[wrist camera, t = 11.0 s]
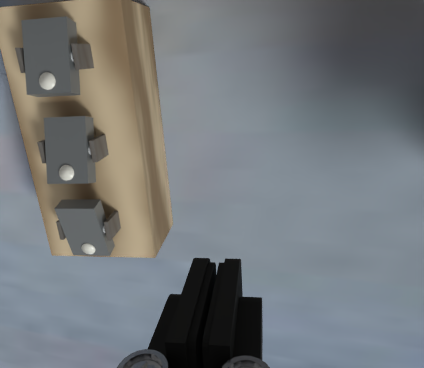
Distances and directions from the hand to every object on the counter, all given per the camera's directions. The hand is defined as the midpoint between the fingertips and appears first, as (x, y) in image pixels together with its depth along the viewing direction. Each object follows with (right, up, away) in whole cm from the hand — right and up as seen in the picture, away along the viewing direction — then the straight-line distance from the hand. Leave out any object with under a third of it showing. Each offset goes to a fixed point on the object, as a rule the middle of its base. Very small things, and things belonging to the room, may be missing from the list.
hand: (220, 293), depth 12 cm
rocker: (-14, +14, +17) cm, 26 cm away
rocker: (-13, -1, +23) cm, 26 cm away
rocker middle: (-13, +7, +20) cm, 25 cm away
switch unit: (-12, +10, +29) cm, 33 cm away
